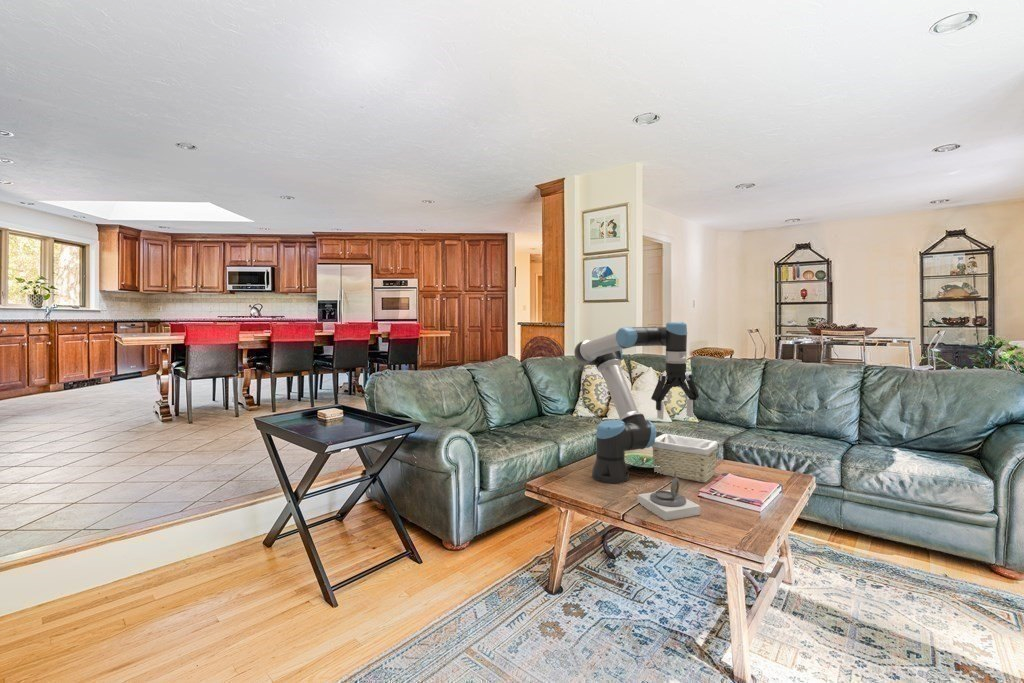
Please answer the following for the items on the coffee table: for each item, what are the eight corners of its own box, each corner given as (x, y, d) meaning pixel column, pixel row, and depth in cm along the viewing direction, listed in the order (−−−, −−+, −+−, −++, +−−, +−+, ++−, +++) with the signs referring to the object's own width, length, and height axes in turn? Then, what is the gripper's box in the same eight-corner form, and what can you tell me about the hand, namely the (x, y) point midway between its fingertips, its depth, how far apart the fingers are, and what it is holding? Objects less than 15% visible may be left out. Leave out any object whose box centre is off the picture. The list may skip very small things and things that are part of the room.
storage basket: (649, 473, 201) (649, 439, 200) (663, 464, 214) (663, 432, 213) (706, 485, 186) (707, 449, 185) (718, 475, 199) (719, 440, 198)
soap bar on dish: (637, 502, 168) (637, 492, 168) (669, 497, 173) (669, 487, 173) (665, 520, 153) (665, 509, 153) (700, 514, 158) (700, 503, 158)
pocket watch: (652, 493, 167) (653, 465, 167) (676, 493, 167) (677, 466, 166) (658, 502, 159) (659, 473, 159) (683, 502, 159) (684, 473, 158)
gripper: (654, 364, 170) (653, 421, 171) (709, 362, 178) (708, 417, 179) (642, 362, 177) (641, 417, 178) (695, 360, 185) (694, 413, 186)
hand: (675, 417), depth 178 cm, fingers open, 13 cm apart
